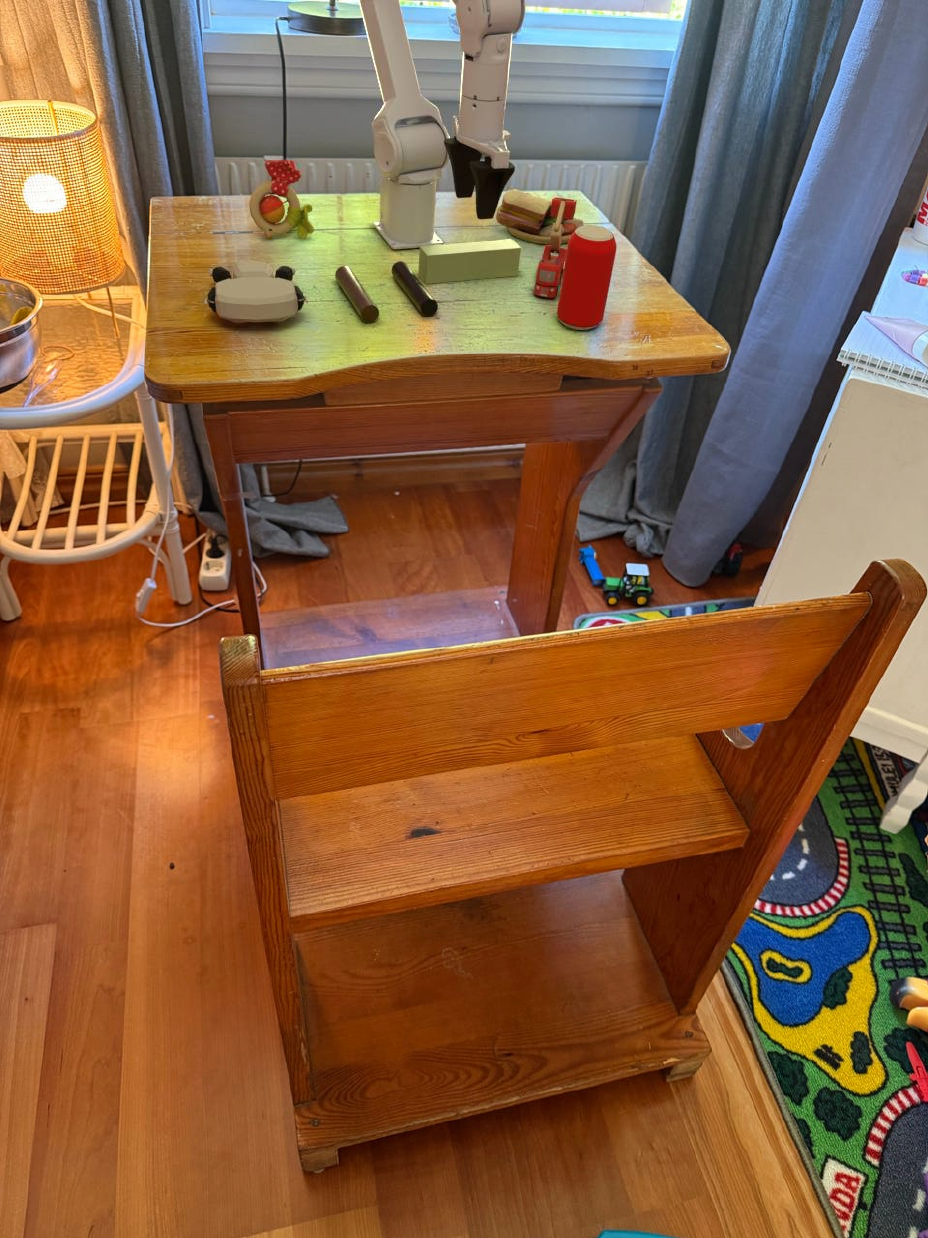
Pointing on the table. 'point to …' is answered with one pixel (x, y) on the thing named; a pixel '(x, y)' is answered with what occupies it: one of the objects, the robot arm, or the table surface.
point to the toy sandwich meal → (532, 218)
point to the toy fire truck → (551, 264)
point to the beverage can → (586, 277)
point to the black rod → (414, 289)
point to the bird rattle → (280, 202)
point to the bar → (469, 261)
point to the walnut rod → (357, 294)
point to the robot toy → (254, 293)
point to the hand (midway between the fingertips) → (474, 207)
